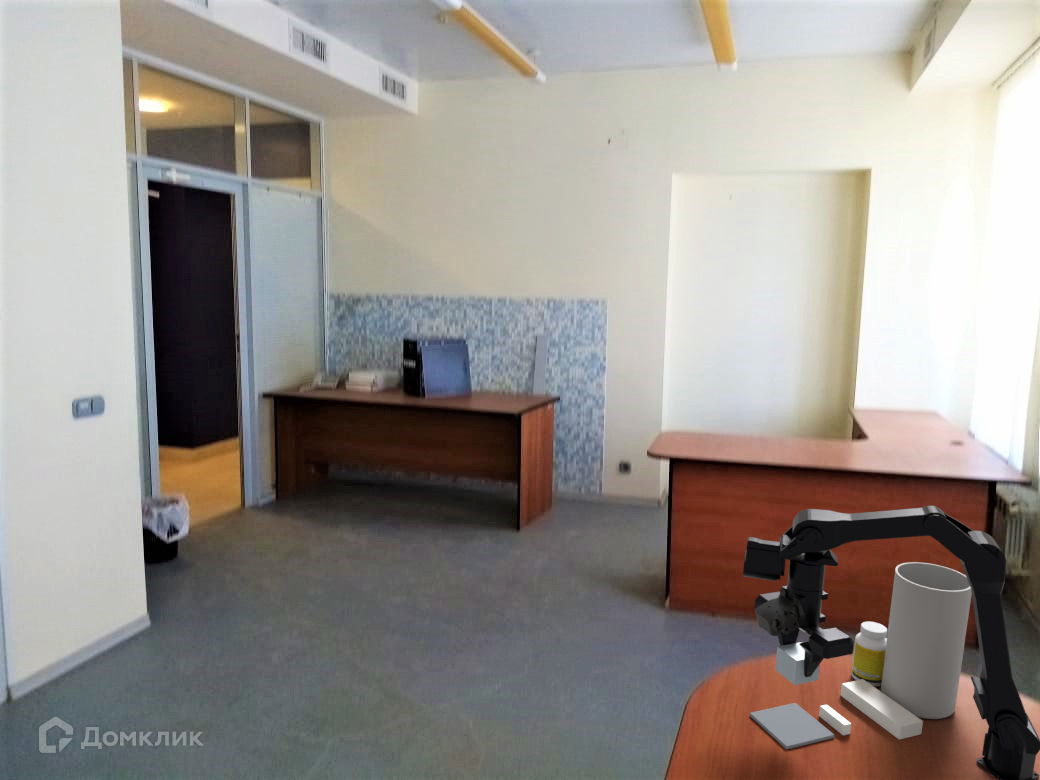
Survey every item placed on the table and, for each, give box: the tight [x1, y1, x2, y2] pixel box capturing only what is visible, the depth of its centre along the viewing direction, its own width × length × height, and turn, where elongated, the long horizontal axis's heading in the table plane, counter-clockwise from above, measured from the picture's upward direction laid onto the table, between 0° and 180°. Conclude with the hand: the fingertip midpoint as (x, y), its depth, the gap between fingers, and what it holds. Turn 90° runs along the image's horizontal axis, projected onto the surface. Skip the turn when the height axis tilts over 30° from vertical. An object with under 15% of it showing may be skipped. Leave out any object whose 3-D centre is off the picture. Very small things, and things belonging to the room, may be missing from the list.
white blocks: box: [818, 679, 924, 740], centre depth 141 cm, size 14×14×2 cm
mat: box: [749, 702, 835, 750], centre depth 138 cm, size 10×10×1 cm
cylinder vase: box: [880, 561, 972, 720], centre depth 145 cm, size 12×12×25 cm
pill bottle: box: [851, 621, 888, 687], centre depth 153 cm, size 6×6×11 cm
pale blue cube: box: [775, 641, 821, 686], centre depth 136 cm, size 5×5×4 cm
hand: (797, 668), depth 136 cm, fingers closed on pale blue cube, 5 cm apart
